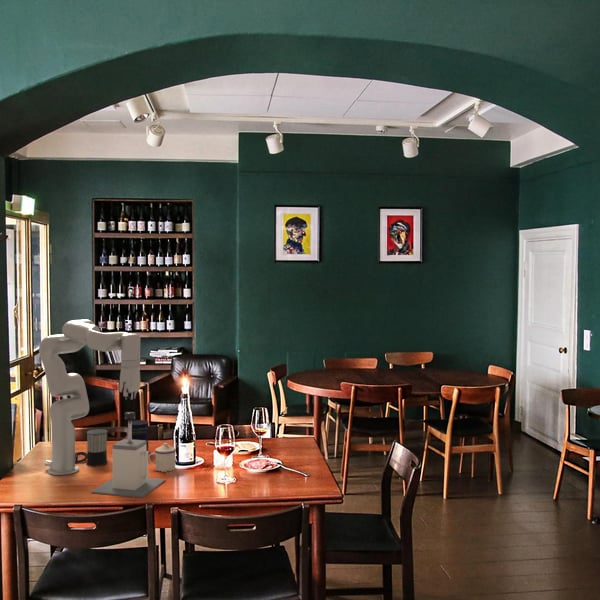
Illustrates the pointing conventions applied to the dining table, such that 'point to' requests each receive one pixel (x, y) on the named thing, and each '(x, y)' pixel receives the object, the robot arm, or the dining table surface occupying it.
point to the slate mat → (140, 492)
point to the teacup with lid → (164, 458)
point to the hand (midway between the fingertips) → (130, 408)
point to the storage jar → (140, 431)
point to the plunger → (129, 424)
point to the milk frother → (95, 448)
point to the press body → (129, 464)
